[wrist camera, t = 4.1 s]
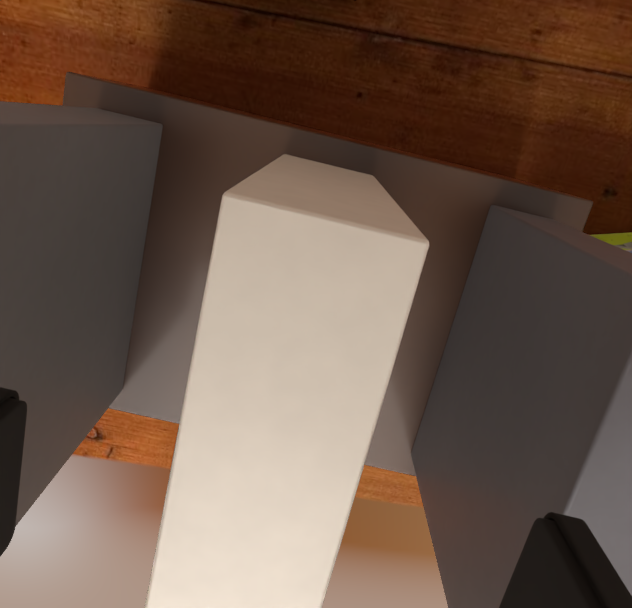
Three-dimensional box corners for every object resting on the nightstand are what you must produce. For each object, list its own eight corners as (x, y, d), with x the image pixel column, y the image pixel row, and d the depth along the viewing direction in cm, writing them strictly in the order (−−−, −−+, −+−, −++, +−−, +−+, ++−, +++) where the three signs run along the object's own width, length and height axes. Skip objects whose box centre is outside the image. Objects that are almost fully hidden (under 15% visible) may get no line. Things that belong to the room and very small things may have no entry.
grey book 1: (63, 377, 25) (-166, 594, 13) (96, 107, 22) (-167, 88, 10) (122, 390, 25) (-55, 616, 13) (163, 124, 22) (-22, 123, 10)
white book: (227, 414, 25) (127, 696, 13) (283, 153, 22) (222, 191, 10) (308, 431, 25) (286, 728, 13) (374, 175, 22) (432, 241, 10)
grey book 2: (410, 454, 26) (475, 724, 14) (490, 203, 22) (659, 287, 11) (466, 466, 26) (576, 744, 14) (553, 219, 22) (787, 318, 11)
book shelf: (114, 318, 35) (31, 392, 25) (147, 87, 31) (65, 70, 21) (444, 393, 36) (486, 492, 26) (515, 178, 32) (594, 201, 22)
